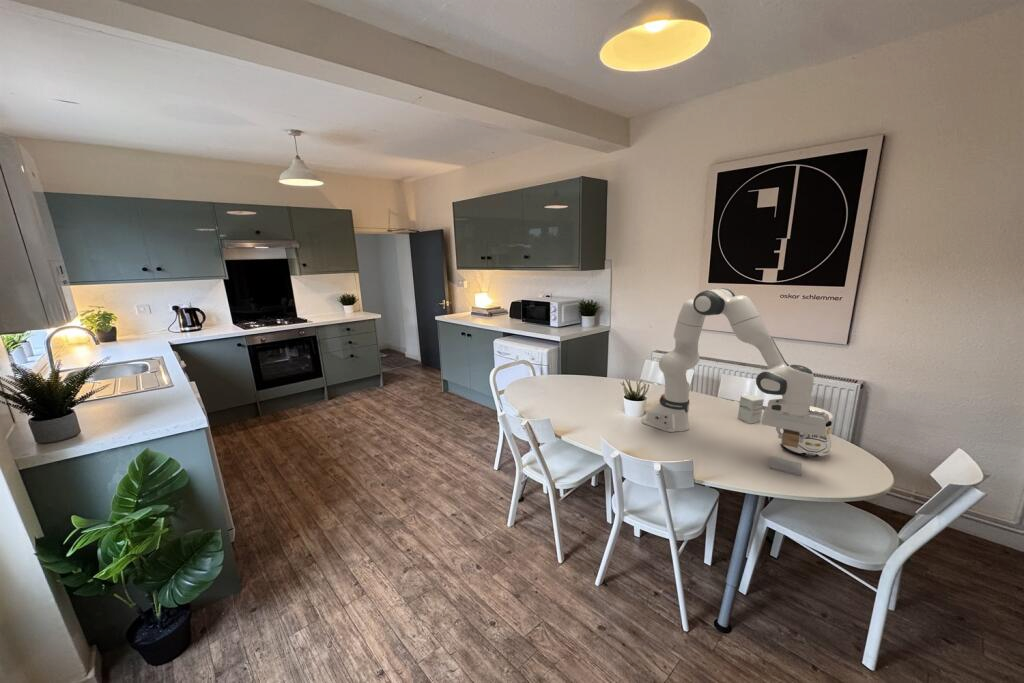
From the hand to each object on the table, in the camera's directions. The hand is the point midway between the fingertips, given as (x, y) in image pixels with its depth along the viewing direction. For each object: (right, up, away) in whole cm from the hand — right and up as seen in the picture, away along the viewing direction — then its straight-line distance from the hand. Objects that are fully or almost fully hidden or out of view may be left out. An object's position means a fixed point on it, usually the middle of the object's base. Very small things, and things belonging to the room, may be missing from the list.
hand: (790, 439), depth 150 cm
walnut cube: (0, -2, 0) cm, 2 cm away
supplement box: (+12, -2, +45) cm, 47 cm away
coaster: (0, -11, +3) cm, 12 cm away
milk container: (+17, -9, +15) cm, 24 cm away
